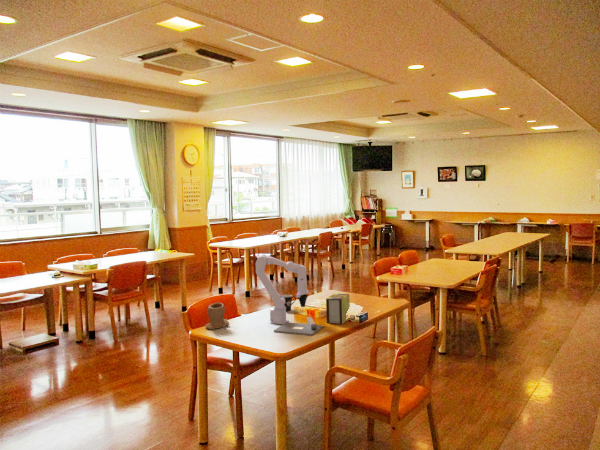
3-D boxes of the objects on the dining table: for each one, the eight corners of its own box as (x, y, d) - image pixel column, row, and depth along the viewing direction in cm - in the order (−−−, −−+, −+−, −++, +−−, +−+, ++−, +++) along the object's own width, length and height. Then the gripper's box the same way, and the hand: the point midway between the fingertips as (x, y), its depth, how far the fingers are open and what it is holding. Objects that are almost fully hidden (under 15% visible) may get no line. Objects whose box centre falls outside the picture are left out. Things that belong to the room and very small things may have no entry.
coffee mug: (280, 312, 340) (280, 297, 339) (279, 309, 348) (278, 294, 347) (297, 311, 341) (297, 296, 340) (296, 308, 350) (295, 293, 349)
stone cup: (212, 331, 298) (211, 307, 297) (202, 327, 307) (201, 303, 306) (234, 326, 307) (233, 302, 306) (224, 323, 317) (223, 299, 315)
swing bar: (316, 329, 291) (316, 324, 291) (311, 330, 291) (311, 325, 290) (311, 321, 309) (311, 316, 309) (306, 321, 309) (306, 316, 309)
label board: (273, 332, 294) (273, 330, 294) (286, 323, 310) (286, 322, 310) (312, 335, 284) (311, 333, 284) (322, 327, 301) (322, 325, 301)
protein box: (350, 318, 320) (349, 294, 318) (342, 324, 306) (341, 299, 304) (334, 316, 324) (334, 293, 323) (326, 323, 310) (325, 298, 309)
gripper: (303, 287, 303) (304, 309, 304) (312, 283, 316) (313, 304, 317) (292, 287, 306) (293, 309, 307) (302, 282, 319) (303, 303, 320)
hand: (302, 306), depth 312 cm, fingers closed
